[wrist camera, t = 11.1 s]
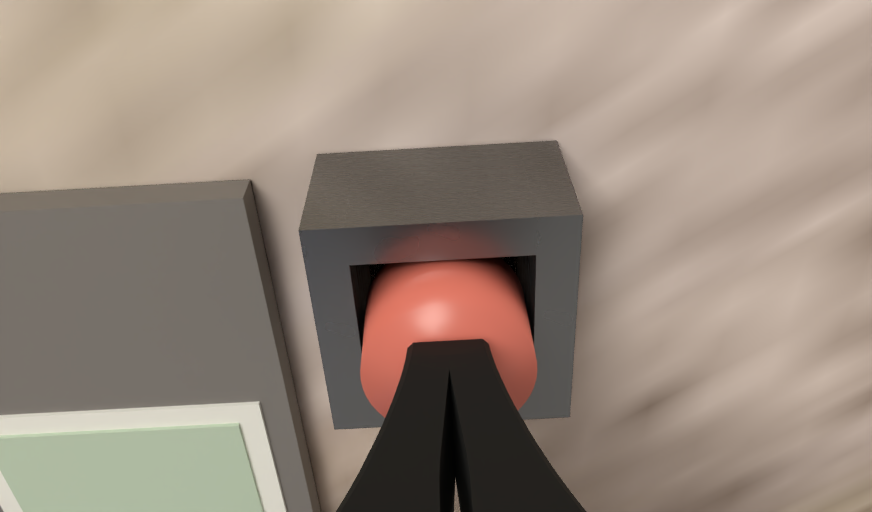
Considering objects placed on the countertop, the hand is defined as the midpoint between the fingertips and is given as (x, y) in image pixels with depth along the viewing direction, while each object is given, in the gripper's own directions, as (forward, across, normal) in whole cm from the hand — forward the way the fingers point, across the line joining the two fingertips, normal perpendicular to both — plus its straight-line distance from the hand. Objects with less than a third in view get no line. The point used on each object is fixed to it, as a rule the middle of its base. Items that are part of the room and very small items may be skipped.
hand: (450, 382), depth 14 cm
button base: (+4, 0, 0) cm, 4 cm away
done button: (+2, 0, 0) cm, 2 cm away
